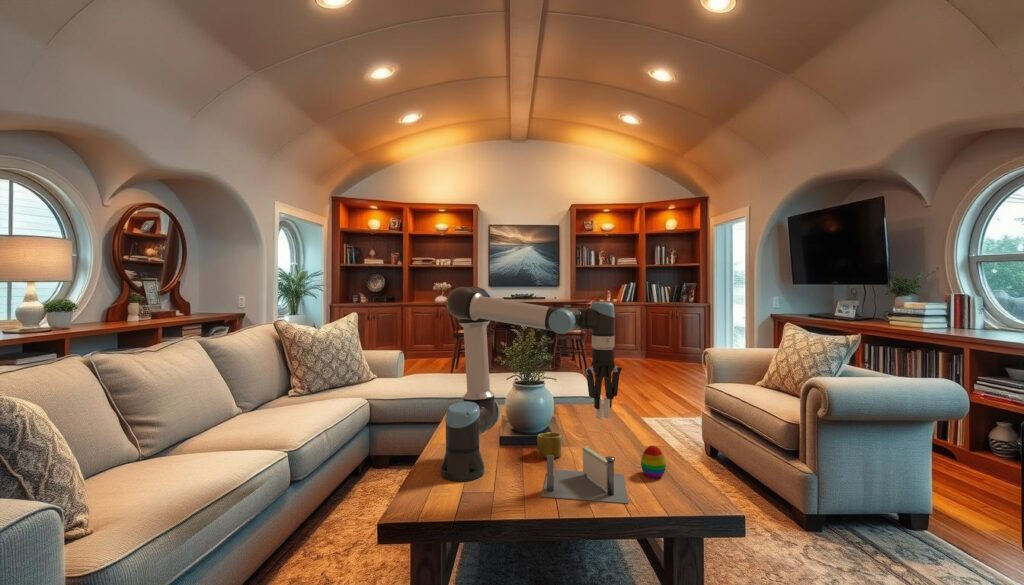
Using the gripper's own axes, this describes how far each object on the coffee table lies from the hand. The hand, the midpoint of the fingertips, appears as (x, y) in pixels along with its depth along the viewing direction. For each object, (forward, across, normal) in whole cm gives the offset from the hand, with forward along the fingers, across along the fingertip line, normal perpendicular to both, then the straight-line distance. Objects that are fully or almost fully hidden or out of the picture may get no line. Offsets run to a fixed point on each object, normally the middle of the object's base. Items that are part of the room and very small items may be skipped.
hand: (603, 417), depth 156 cm
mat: (+20, -8, -3) cm, 22 cm away
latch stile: (+20, -21, -3) cm, 29 cm away
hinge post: (+20, -4, -12) cm, 24 cm away
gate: (+20, -4, -3) cm, 21 cm away
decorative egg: (+21, +18, -3) cm, 28 cm away
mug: (+21, -7, +28) cm, 35 cm away
